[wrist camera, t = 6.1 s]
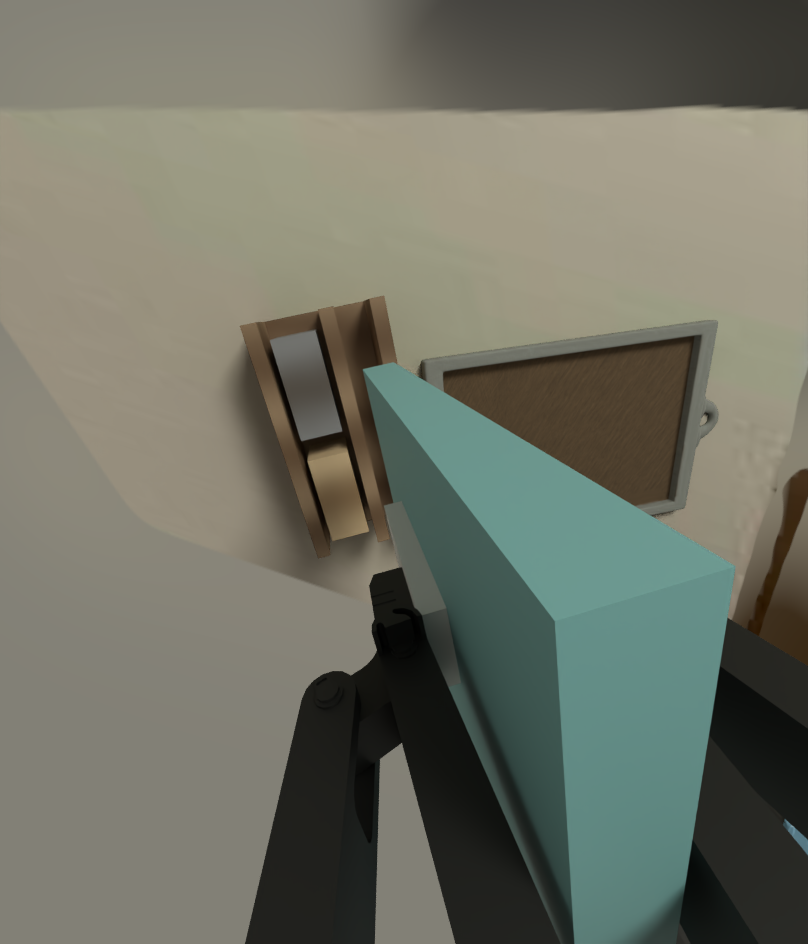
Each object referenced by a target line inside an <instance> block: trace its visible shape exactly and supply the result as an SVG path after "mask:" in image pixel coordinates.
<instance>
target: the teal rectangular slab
mask: <svg viewBox="0 0 808 944" xmlns="http://www.w3.org/2000/svg"><path fill="white" fill-rule="evenodd" d="M363 373H364V378H365V382H366V386H367V391H368V395H369V399H370V404H371V408H372V412H373V417H374V421H375V425H376V430H377V434H378V438H379V443H380V447H381V451H382V456H383V460H384V464H385V469H386V473H387V477H388V482H389V486H390V490H391V495H392V499H393V503H396V502H400V501H402V503H403V506H404V508H405V510H406V513H407V515H408V518H409V520H410V522H411V525H412V527H413V530H414V532H415V534H416V537H417V539H418V541H419V544H420V546H421V549H422V551H423V553H424V556H425V558H426V561H427V563H428V565H429V568H430V570H431V572H432V575H433V577H434V580H435V582H436V584H437V587H438V589H439V592H440V594H441V596H442V599H443V601H444V603H445V606H446V608H447V613H448V619H449V624H450V629H451V634H452V639H453V644H454V649H455V654H456V660H457V665H458V670H459V675H460V680H461V683H459V684H456V685H453V686H450V687H449V690H450V692H451V694H452V696H453V699H454V701H455V703H456V705H457V708H458V710H459V712H460V715H461V717H462V719H463V721H464V724H465V726H466V728H467V731H468V733H469V735H470V737H471V740H472V742H473V744H474V747H475V749H476V751H477V753H478V756H479V758H480V760H481V763H482V765H483V767H484V769H485V772H486V774H487V776H488V779H489V781H490V783H491V785H492V788H493V790H494V792H495V795H496V797H497V799H498V801H499V804H500V806H501V808H502V810H503V813H504V815H505V817H506V820H507V822H508V824H509V826H510V829H511V831H512V833H513V836H514V838H515V840H516V842H517V845H518V847H519V849H520V852H521V854H522V856H523V858H524V861H525V863H526V865H527V868H528V870H529V872H530V874H531V877H532V879H533V881H534V884H535V886H536V888H537V890H538V893H539V895H540V897H541V900H542V902H543V904H544V906H545V909H546V911H547V913H548V916H549V918H550V920H551V922H552V925H553V927H554V929H555V931H556V934H557V936H558V938H559V941H560V943H561V944H676V940H677V934H678V928H679V921H680V915H681V909H682V902H683V896H684V890H685V883H686V877H687V871H688V864H689V858H690V852H691V845H692V839H693V833H694V826H695V820H696V813H697V807H698V801H699V794H700V788H701V782H702V775H703V769H704V763H705V756H706V750H707V744H708V737H709V731H710V725H711V718H712V712H713V706H714V699H715V693H716V687H717V680H718V674H719V668H720V661H721V655H722V649H723V642H724V636H725V630H726V623H727V617H728V611H729V604H730V598H731V592H732V585H733V579H734V573H735V566H734V565H732V564H731V563H729V562H727V561H726V560H724V559H722V558H721V557H719V556H717V555H716V554H714V553H712V552H711V551H709V550H707V549H706V548H704V547H702V546H701V545H699V544H697V543H696V542H694V541H692V540H691V539H689V538H687V537H685V536H684V535H682V534H680V533H679V532H677V531H675V530H674V529H672V528H670V527H669V526H667V525H665V524H664V523H662V522H660V521H659V520H657V519H655V518H654V517H652V516H650V515H649V514H647V513H645V512H644V511H642V510H640V509H639V508H637V507H635V506H634V505H632V504H630V503H629V502H627V501H625V500H624V499H622V498H620V497H618V496H617V495H615V494H613V493H612V492H610V491H608V490H607V489H605V488H603V487H602V486H600V485H598V484H597V483H595V482H593V481H592V480H590V479H588V478H587V477H585V476H583V475H582V474H580V473H578V472H577V471H575V470H573V469H572V468H570V467H568V466H567V465H565V464H563V463H562V462H560V461H558V460H557V459H555V458H553V457H551V456H550V455H548V454H546V453H545V452H543V451H541V450H540V449H538V448H536V447H535V446H533V445H531V444H530V443H528V442H526V441H525V440H523V439H521V438H520V437H518V436H516V435H515V434H513V433H511V432H510V431H508V430H506V429H505V428H503V427H501V426H500V425H498V424H496V423H495V422H493V421H491V420H490V419H488V418H486V417H484V416H483V415H481V414H479V413H478V412H476V411H474V410H473V409H471V408H469V407H468V406H466V405H464V404H463V403H461V402H459V401H458V400H456V399H454V398H453V397H451V396H449V395H448V394H446V393H444V392H443V391H441V390H439V389H438V388H436V387H434V386H433V385H431V384H429V383H428V382H426V381H424V380H423V379H421V378H419V377H417V376H416V375H414V374H412V373H411V372H409V371H407V370H406V369H404V368H402V367H401V366H399V365H397V364H396V363H394V362H392V363H388V364H384V365H379V366H375V367H370V368H366V369H363Z"/></svg>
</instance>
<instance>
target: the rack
mask: <svg viewBox="0 0 808 944" xmlns="http://www.w3.org/2000/svg"><path fill="white" fill-rule="evenodd" d="M240 328H241V331H242V334H243V337H244V340H245V343H246V346H247V349H248V352H249V355H250V358H251V360H252V363H253V366H254V369H255V372H256V375H257V378H258V381H259V384H260V387H261V390H262V393H263V396H264V399H265V402H266V405H267V408H268V411H269V414H270V417H271V420H272V423H273V426H274V429H275V432H276V435H277V438H278V441H279V444H280V447H281V450H282V452H283V455H284V458H285V461H286V464H287V467H288V470H289V473H290V476H291V479H292V482H293V485H294V488H295V491H296V494H297V497H298V500H299V503H300V506H301V509H302V512H303V515H304V518H305V521H306V524H307V527H308V530H309V533H310V536H311V539H312V541H313V544H314V547H315V550H316V553H317V556H318V558H322V557H326V556H329V555H330V531H329V528H328V525H327V522H326V519H325V515H324V512H323V509H322V506H321V503H320V499H319V496H318V493H317V490H316V487H315V484H314V480H313V477H312V474H311V471H310V468H309V464H308V454H309V446H310V445H314V444H318V443H322V442H326V441H330V440H334V439H338V438H342V437H345V438H346V442H347V446H348V449H349V453H350V457H351V461H352V464H353V468H354V472H355V476H356V480H357V483H358V487H359V491H360V495H361V498H362V502H363V506H364V510H365V514H366V519H367V521H369V520H373V524H374V528H375V532H376V535H377V539H378V542H381V541H385V540H388V539H390V537H389V533H388V529H387V525H386V520H385V516H386V512H385V508H384V505H388V504H392V503H393V499H392V495H391V490H390V486H389V482H388V477H387V473H386V469H385V464H384V460H383V456H382V451H381V447H380V443H379V438H378V434H377V430H376V425H375V421H374V417H373V412H372V408H371V404H370V399H369V395H368V391H367V386H366V382H365V378H364V373H363V369H366V368H370V367H375V366H379V365H384V364H388V363H392V362H394V363H396V364H397V359H396V354H395V349H394V344H393V338H392V333H391V328H390V323H389V318H388V313H387V308H386V303H385V298H384V296H380V297H376V298H371V299H368V300H365V301H363V302H358V303H353V304H348V305H344V306H339V307H334V308H333V306H332V307H328V308H323V309H318V311H315V312H310V313H305V314H301V315H296V316H291V317H286V318H281V319H277V320H272V321H267V322H256V323H251V324H246V325H241V326H240ZM315 329H317V333H318V336H319V340H320V344H321V348H322V351H323V355H324V359H325V363H326V367H327V370H328V374H329V378H330V382H331V385H332V389H333V393H334V397H335V400H336V404H337V408H338V412H339V415H340V420H341V426H342V431H341V432H337V433H333V434H329V435H325V436H321V437H317V438H312V439H308V440H304V441H301V439H300V436H299V432H298V429H297V426H296V423H295V420H294V416H293V413H292V410H291V407H290V404H289V401H288V397H287V394H286V391H285V388H284V385H283V381H282V378H281V375H280V372H279V369H278V365H277V362H276V359H275V356H274V353H273V349H272V346H271V343H270V340H272V339H274V338H277V337H282V336H287V335H291V334H296V333H301V332H305V331H310V330H315ZM397 365H398V364H397Z"/></svg>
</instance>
